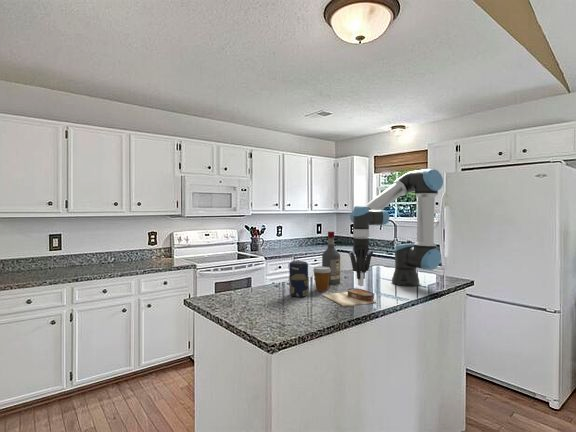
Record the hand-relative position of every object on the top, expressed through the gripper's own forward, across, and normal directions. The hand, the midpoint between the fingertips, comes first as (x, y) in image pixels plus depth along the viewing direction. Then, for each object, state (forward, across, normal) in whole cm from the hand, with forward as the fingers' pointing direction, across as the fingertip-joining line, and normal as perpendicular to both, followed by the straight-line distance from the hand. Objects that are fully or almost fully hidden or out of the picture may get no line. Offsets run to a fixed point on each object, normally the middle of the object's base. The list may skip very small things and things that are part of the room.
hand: (360, 285), depth 172 cm
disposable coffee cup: (+6, +10, -22) cm, 25 cm away
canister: (+6, +26, -16) cm, 31 cm away
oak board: (+6, +7, 0) cm, 9 cm away
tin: (+5, -4, 0) cm, 6 cm away
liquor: (+6, -3, -36) cm, 36 cm away
